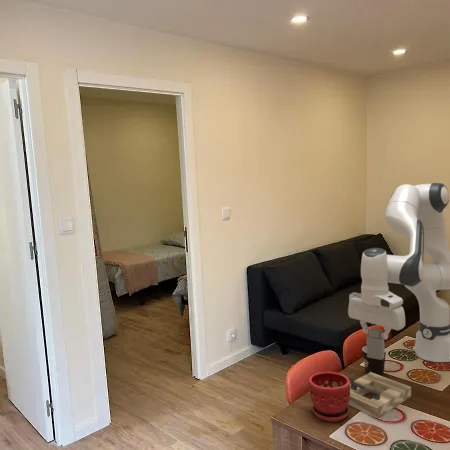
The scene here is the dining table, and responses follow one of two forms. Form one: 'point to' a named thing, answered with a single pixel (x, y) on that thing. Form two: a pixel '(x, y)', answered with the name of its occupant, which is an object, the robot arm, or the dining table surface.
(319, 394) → the plant pot
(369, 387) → the tidy board
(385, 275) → the robot arm
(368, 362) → the coffee mug
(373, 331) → the power adapter
